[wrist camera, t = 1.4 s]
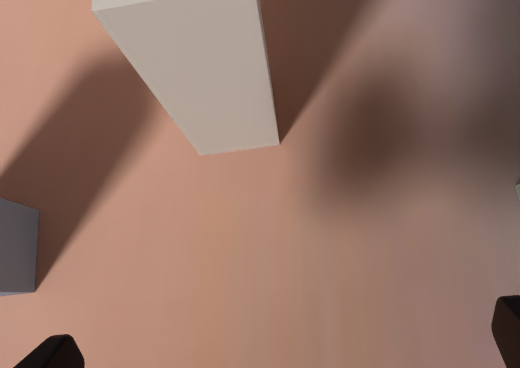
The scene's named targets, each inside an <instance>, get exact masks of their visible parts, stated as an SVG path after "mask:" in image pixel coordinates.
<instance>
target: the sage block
mask: <svg viewBox="0 0 520 368" xmlns="http://www.w3.org/2000/svg"><path fill="white" fill-rule="evenodd" d="M515 189H516V192H517V196H518V199H519V202H520V184H518V185H516V186H515Z"/></svg>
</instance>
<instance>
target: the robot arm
mask: <svg viewBox="0 0 520 368" xmlns="http://www.w3.org/2000/svg"><path fill="white" fill-rule="evenodd" d="M492 333H493V336H494V339H495V341H496V344H497V346H498V348H499V351H500V353H501V355H502V358H503V360H504V362H505V365H506V367H507V368H520V295H512V296H501V297H499V298H498V299H497V301H496V305H495V310H494V315H493V320H492ZM84 366H85V363H84V358H83V355H82V354H81V352H80V350H79V348H78V346H77V344H76V342H75V341H74V339H73V337H72V336H70V335H69V334H64V335H53V336H50V337H49V338H47V339H46V340H45V341H44V342H42V343H41V344H40V345H39V346H38V347H37V348H35V349H34V350H33V351H32V352H31V353H30V354H28V355H27V356H26V357H25V358H24V359H23V360H22V361H20V362H19V363H18V364H17V365H16V366H15V367H13V368H84Z"/></svg>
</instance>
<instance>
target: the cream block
mask: <svg viewBox="0 0 520 368" xmlns="http://www.w3.org/2000/svg"><path fill="white" fill-rule="evenodd" d="M92 13H93V14H94V15H95V17H96V18H97V19H98V21H99V22H100V23H101V25H102V26H103V27H104V29H105V30H106V31H107V33H108V34H109V35H110V37H111V38H112V39H113V41H114V42H115V43H116V45H117V46H118V47H119V49H120V50H121V51H122V53H123V54H124V55H125V57H126V58H127V59H128V61H129V62H130V63H131V65H132V66H133V67H134V69H135V70H136V71H137V73H138V74H139V75H140V77H141V78H142V79H143V81H144V82H145V83H146V85H147V86H148V87H149V89H150V90H151V91H152V93H153V94H154V95H155V97H156V98H157V99H158V101H159V102H160V103H161V105H162V106H163V107H164V109H165V110H166V111H167V113H168V114H169V115H170V117H171V118H172V119H173V121H174V122H175V123H176V125H177V126H178V127H179V129H180V130H181V131H182V133H183V134H184V135H185V137H186V138H187V139H188V141H189V142H190V143H191V145H192V146H193V147H194V149H195V150H196V151H197V153H198V154H199V155H200V156H203V155H210V154H217V153H225V152H232V151H239V150H247V149H254V148H261V147H268V146H276V145H280V144H279V136H278V128H277V120H276V112H275V105H274V97H273V89H272V81H271V73H270V67H269V60H268V53H267V47H266V40H265V33H264V26H263V20H262V13H261V6H260V0H92Z"/></svg>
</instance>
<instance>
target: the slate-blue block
mask: <svg viewBox="0 0 520 368" xmlns="http://www.w3.org/2000/svg"><path fill="white" fill-rule="evenodd" d="M38 224H39V210H37V209H34V208H31V207H28V206H25V205H22V204H18V203H15V202H12V201H9V200H6V199H3V198H0V296H6V295H15V294H24V293H32V292H35V277H36V260H37V242H38Z"/></svg>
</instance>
